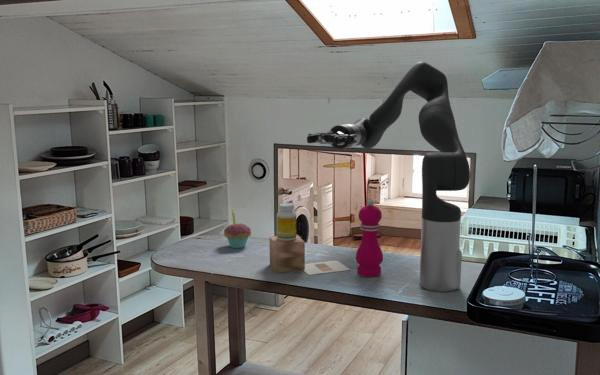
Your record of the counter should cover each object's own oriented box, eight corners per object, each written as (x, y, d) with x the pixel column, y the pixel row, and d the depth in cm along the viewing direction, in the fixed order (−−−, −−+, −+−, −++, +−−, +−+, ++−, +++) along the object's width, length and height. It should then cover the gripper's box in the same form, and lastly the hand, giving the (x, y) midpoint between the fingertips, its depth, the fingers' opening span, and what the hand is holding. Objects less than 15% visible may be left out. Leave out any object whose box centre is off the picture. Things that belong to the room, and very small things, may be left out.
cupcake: (239, 251, 170) (239, 212, 168) (218, 247, 175) (217, 209, 173) (256, 244, 177) (255, 207, 175) (235, 241, 182) (234, 205, 180)
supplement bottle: (275, 236, 155) (275, 203, 154) (294, 235, 156) (294, 202, 155) (278, 241, 150) (278, 206, 148) (298, 240, 151) (298, 206, 150)
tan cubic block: (297, 261, 159) (297, 234, 158) (304, 270, 152) (304, 241, 150) (269, 264, 157) (269, 236, 156) (276, 272, 149) (275, 243, 148)
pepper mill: (382, 278, 144) (383, 202, 141) (354, 277, 146) (354, 201, 142) (383, 270, 151) (385, 197, 148) (356, 268, 153) (357, 196, 149)
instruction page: (336, 261, 160) (336, 260, 160) (350, 270, 151) (350, 269, 151) (297, 265, 155) (297, 264, 155) (308, 275, 147) (308, 274, 147)
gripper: (325, 123, 179) (299, 126, 165) (366, 124, 172) (343, 127, 158) (325, 147, 180) (300, 151, 166) (365, 149, 173) (343, 154, 159)
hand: (321, 140), depth 162 cm, fingers open, 8 cm apart
